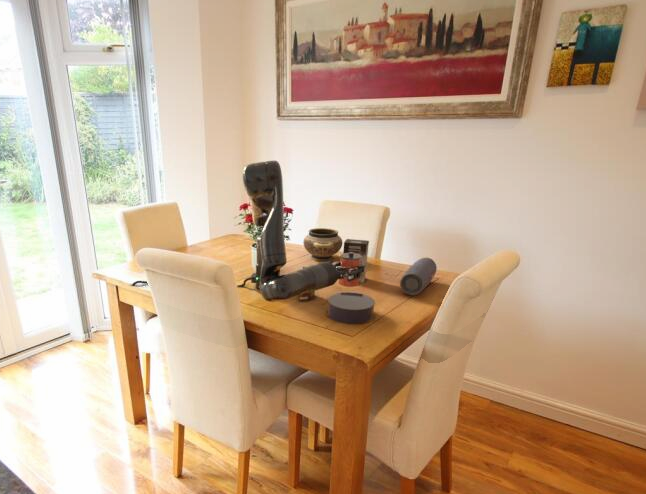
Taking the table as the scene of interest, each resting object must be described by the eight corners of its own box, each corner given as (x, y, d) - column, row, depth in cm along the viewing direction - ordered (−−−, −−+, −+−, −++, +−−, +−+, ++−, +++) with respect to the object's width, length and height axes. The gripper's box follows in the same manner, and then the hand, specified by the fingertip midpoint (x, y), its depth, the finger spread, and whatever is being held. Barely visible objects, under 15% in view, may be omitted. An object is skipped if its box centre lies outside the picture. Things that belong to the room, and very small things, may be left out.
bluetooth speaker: (423, 300, 166) (427, 274, 162) (397, 295, 171) (400, 270, 167) (436, 281, 183) (440, 257, 180) (412, 278, 188) (415, 254, 184)
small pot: (337, 286, 147) (340, 254, 143) (338, 279, 153) (340, 249, 149) (359, 287, 145) (362, 256, 141) (359, 280, 151) (361, 250, 147)
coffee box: (340, 280, 187) (343, 242, 181) (343, 275, 193) (346, 238, 187) (363, 283, 184) (366, 244, 178) (365, 278, 190) (369, 239, 183)
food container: (316, 303, 166) (317, 277, 162) (299, 302, 167) (300, 276, 163) (317, 291, 177) (319, 266, 173) (301, 290, 178) (302, 266, 174)
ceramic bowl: (334, 272, 206) (344, 240, 200) (296, 260, 208) (305, 229, 202) (337, 256, 228) (346, 228, 221) (302, 246, 230) (311, 218, 224)
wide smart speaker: (328, 322, 150) (328, 308, 148) (326, 304, 164) (327, 291, 162) (376, 324, 148) (377, 310, 146) (370, 306, 162) (372, 293, 160)
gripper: (337, 270, 132) (374, 259, 141) (302, 259, 143) (338, 250, 152) (335, 294, 135) (371, 282, 144) (301, 282, 146) (337, 271, 155)
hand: (354, 266), depth 148 cm, fingers closed on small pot, 6 cm apart
